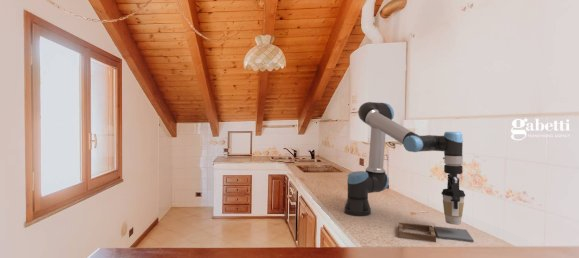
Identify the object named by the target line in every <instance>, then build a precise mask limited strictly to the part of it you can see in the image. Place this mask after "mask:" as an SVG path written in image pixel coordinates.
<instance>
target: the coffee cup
mask: <svg viewBox="0 0 579 258" xmlns="http://www.w3.org/2000/svg"><path fill="white" fill-rule="evenodd" d="M459 191H460V201H459V216H452V201H451V200H452V189H447V188H444V189H442V191H441V192H440V193H441V195H442V205H443V212H444V213H443V214H444V218H445V223H446V224H450V225H455V226H460V225H461V224H462V217H463V211H464V205H465V201H464V200H465V197H466V193H465V191H464V190H461V189H459Z"/></svg>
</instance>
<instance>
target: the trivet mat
mask: <svg viewBox="0 0 579 258" xmlns="http://www.w3.org/2000/svg"><path fill="white" fill-rule="evenodd" d="M433 230H434V232H435V235H436V238H437V239H442V240H450V241H457V242H458V241H459V242H467V243H474V239H473V237H472V236H471V234H470V233H469V231H468V229H464V228H456V227H455V228H454V227H445V226H433Z"/></svg>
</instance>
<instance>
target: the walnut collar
mask: <svg viewBox="0 0 579 258" xmlns="http://www.w3.org/2000/svg"><path fill="white" fill-rule="evenodd" d="M404 230H410V232H408V231H404ZM411 230H412V231H418V232H411ZM419 231H421V232H428V233H429V234H427V233H419ZM398 237H399V239H406V240H415V241H422V242H423V241H424V242H430V243H437V234H436V232H435V229H434V226H433V225H429V224H426V225H425V224H419V223H418V224H417V223H411V222H410V223H408V222H407V223H406V222H398Z"/></svg>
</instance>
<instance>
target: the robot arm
mask: <svg viewBox="0 0 579 258" xmlns="http://www.w3.org/2000/svg"><path fill="white" fill-rule="evenodd" d="M357 114H358V118H359V119H360V120H361V121H362V122H363V123H364V124H366V125H368V126H369V127H370V140H369V152H368V153H369V156H368V167H366V168H365V170H364V171H363V170H360V171H359V170H358V171H352V172H350V173H348V175H347V180H346V181H347V197H346V198H347V199H346V202H345V205H344V213H345V214H347V215H350V216H355V217H356V216H357V217H365V216H370V215H371V214H372V207H371V206H370V202H369V194H372V193H380V192H383V191H385V190H386V189H387V188H388V187H389V184H390V179H389V177H388V174H387V173H386V170H385V169H384V163H385V161H384V160H385V159H384V158H385V147H386V136H389V137H390V138H392V139H394V140H396V141H397V142H399V143H400V144H402V145H403V147H404V149H405V150H406V151H408V152H410V153H418V152H434V151H436V152H443V154H444V156H443V157H442V159H443V161H444V166H443V172H444V173H445V174H447V183H446V185H447V187H446V189H452V200H451V201H452V216H459V201H460V191H459V190H460V178H459V177H458V175H463V169H464V168H463V162H464V158H463V157H464V155H463V146H464V144H463V142H464V141H463V140H464V139H463V133H462V132H461V131H444V134H443V135H434V134H433V135H431V134H429V135H428V134H426V135H419V134H417V133H415V132H413V131H411V130H409V129H408V128H406V127H405V126H403V125H401V124H400V123H397V122H396V121H394V120H393V119H394V116H395V111H394V108H393V107H392V106H391V105H390V104H388V103H387V102H386V103H385V102H372V101H368V102H364V103H362V104H361V105H360V106H359V108H358V111H357Z"/></svg>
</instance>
